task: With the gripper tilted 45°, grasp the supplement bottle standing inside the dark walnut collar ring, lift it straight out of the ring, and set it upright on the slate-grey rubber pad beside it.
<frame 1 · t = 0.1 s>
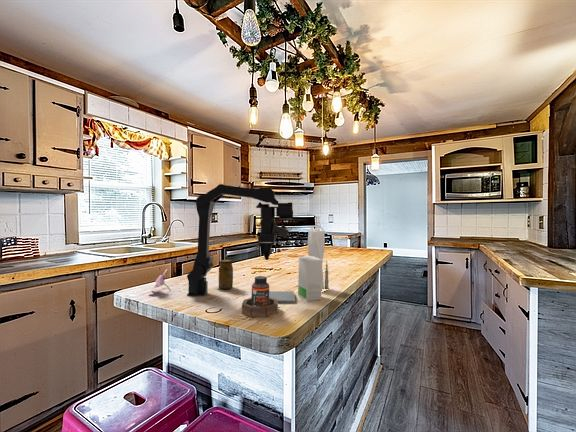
hand: (267, 257, 114), 15 cm above the countertop, tool pointing down, fingers open, 9 cm apart
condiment: (226, 289, 122), on the countertop
skincare box: (309, 298, 109), on the countertop
collar ring: (260, 310, 94), on the countertop
supplement bottle: (260, 311, 94), resting in collar ring
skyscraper: (316, 291, 120), on the countertop
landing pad: (278, 298, 108), on the countertop
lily: (159, 292, 115), on the countertop
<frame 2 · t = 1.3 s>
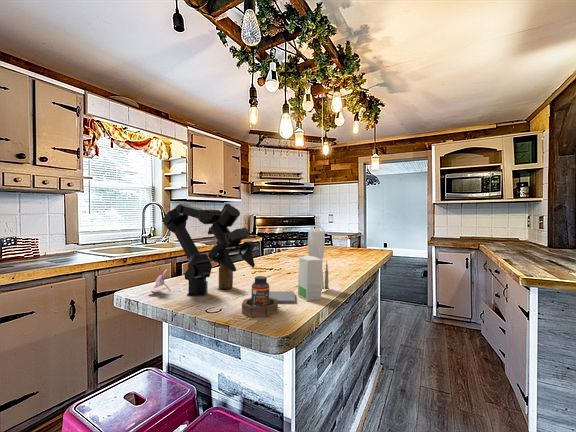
hand: (245, 268, 98), 13 cm above the countertop, tool tilted 45°, fingers open, 9 cm apart
nothing on the countertop moved.
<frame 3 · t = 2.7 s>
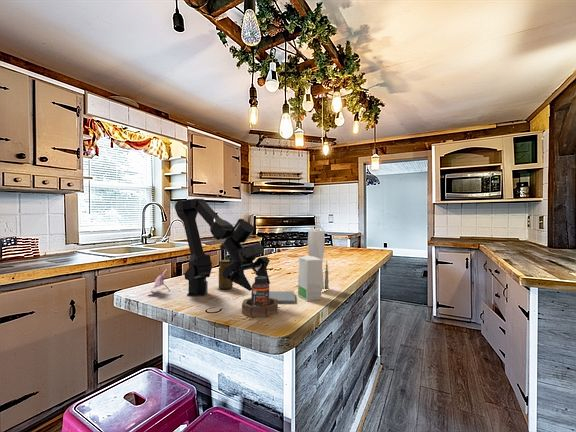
hand: (260, 287, 94), 8 cm above the countertop, tool tilted 45°, fingers open, 9 cm apart
nothing on the countertop moved.
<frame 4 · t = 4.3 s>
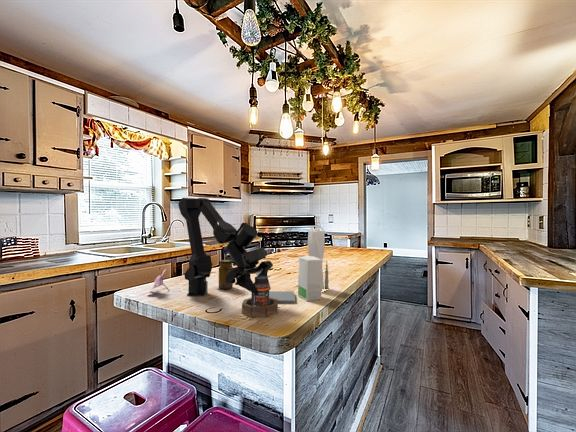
hand: (263, 291, 93), 7 cm above the countertop, tool tilted 45°, fingers closed on supplement bottle, 6 cm apart
supplement bottle: (260, 311, 94), resting in collar ring, touching gripper
everything else where it was.
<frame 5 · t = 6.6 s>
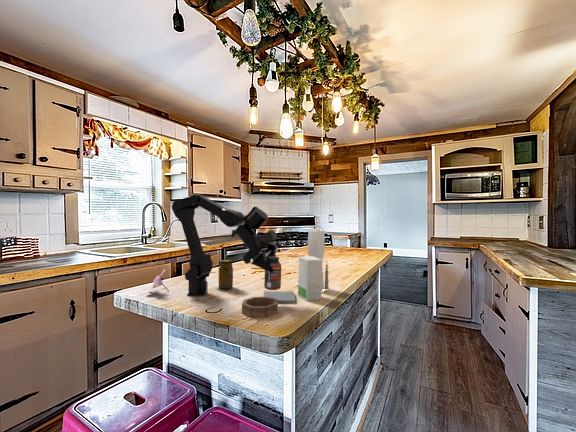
hand: (276, 270, 101), 12 cm above the countertop, tool tilted 45°, fingers closed on supplement bottle, 6 cm apart
supplement bottle: (272, 288, 101), point 5 cm above the countertop, touching gripper
everything else where it was.
when the fingers open (8 cm above the countertop, at t = 9.0 s): supplement bottle stays where it is, resting on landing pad.
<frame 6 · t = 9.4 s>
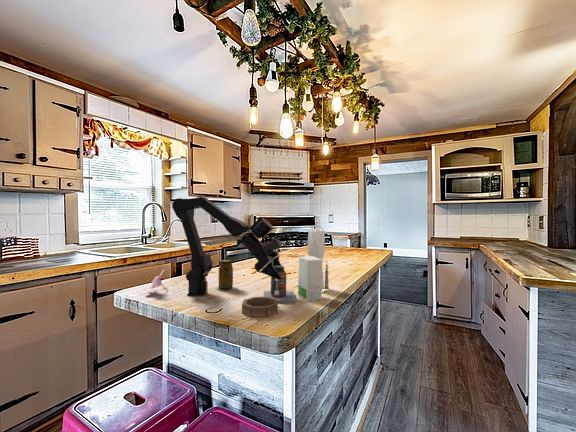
hand: (282, 276, 108), 9 cm above the countertop, tool tilted 45°, fingers open, 9 cm apart
supplement bottle: (278, 296, 108), point 1 cm above the countertop, touching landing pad
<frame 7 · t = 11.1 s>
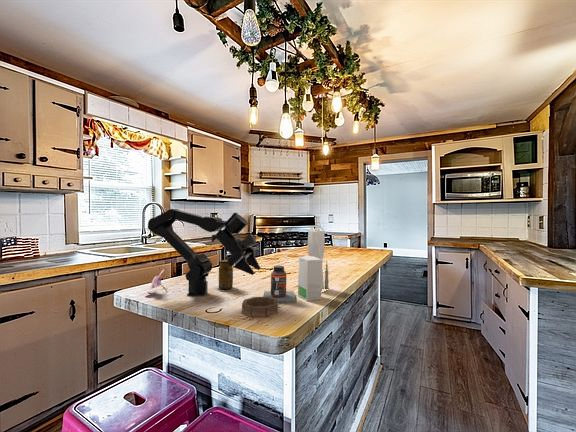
hand: (256, 271, 109), 10 cm above the countertop, tool tilted 45°, fingers open, 9 cm apart
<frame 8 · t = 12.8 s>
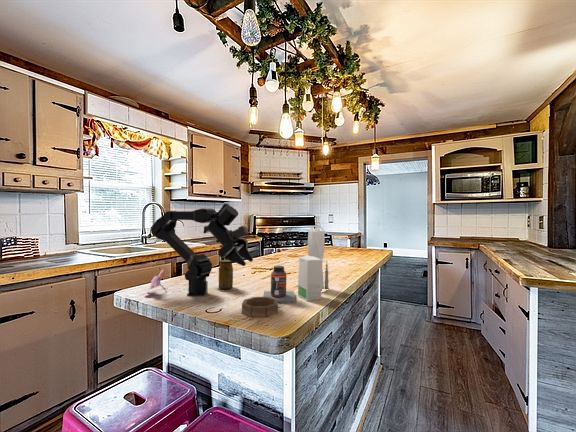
hand: (248, 263, 108), 14 cm above the countertop, tool tilted 45°, fingers open, 9 cm apart
at the end: supplement bottle inside the target area on the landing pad (0.2 cm from its centre), point 0.8 cm above the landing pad's base; supplement bottle tilted 0°; the gripper is holding nothing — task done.
